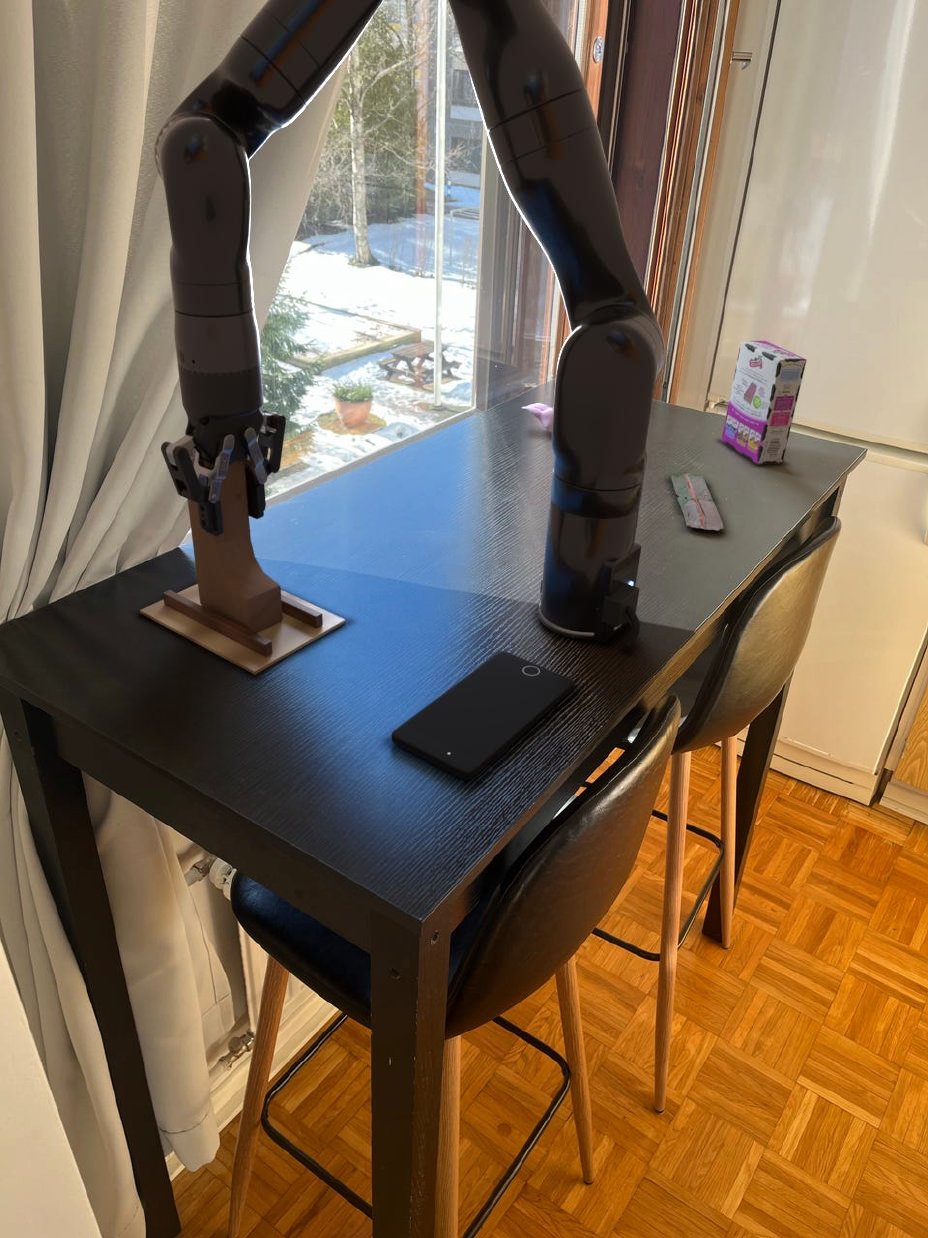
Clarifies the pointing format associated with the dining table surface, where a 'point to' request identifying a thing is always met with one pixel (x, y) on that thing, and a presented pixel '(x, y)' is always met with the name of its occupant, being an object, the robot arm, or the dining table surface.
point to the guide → (243, 628)
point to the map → (696, 502)
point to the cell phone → (482, 714)
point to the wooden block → (233, 561)
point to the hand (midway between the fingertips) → (234, 523)
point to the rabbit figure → (542, 414)
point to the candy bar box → (763, 401)
